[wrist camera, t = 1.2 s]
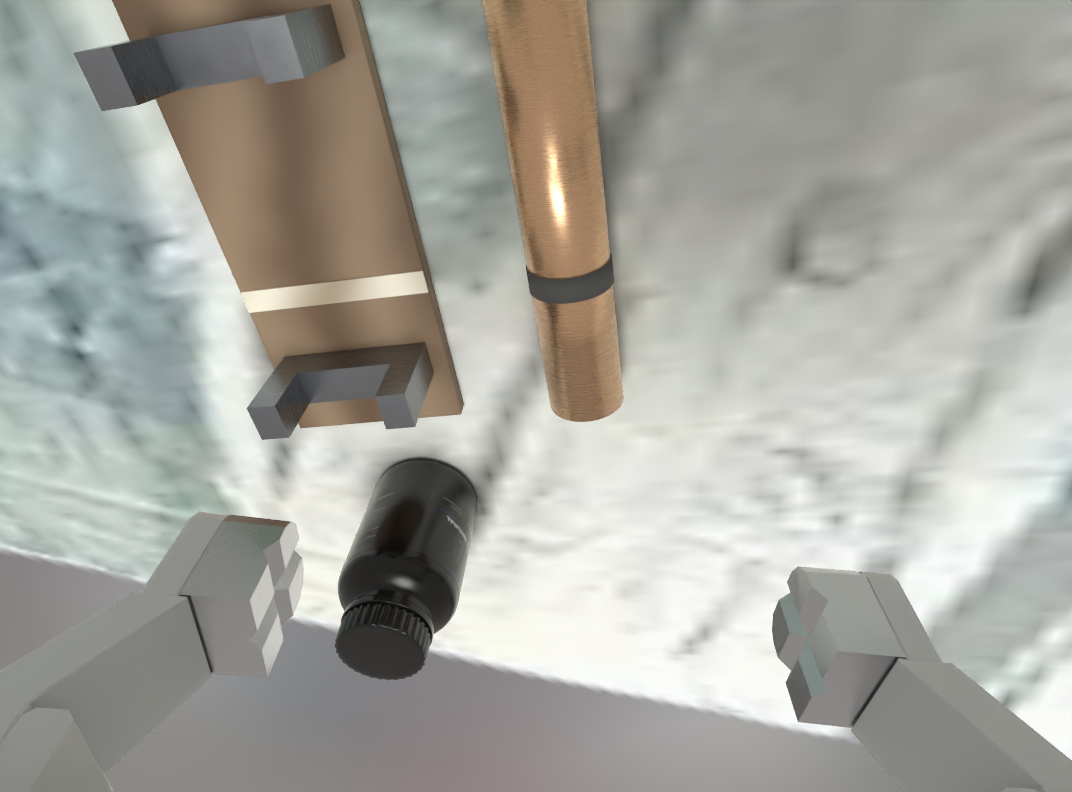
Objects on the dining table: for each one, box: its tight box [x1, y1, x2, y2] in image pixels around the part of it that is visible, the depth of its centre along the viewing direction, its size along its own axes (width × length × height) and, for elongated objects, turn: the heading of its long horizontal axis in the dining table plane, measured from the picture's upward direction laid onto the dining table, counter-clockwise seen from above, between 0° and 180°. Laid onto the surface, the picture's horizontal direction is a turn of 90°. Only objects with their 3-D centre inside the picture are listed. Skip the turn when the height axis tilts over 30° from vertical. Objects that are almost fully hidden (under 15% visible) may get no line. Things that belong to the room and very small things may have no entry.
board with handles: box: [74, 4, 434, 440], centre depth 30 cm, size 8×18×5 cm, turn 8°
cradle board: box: [112, 0, 464, 428], centre depth 33 cm, size 10×24×1 cm, turn 9°
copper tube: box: [482, 0, 623, 422], centre depth 30 cm, size 22×4×4 cm, turn 9°
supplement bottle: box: [335, 460, 477, 680], centre depth 39 cm, size 7×7×12 cm
